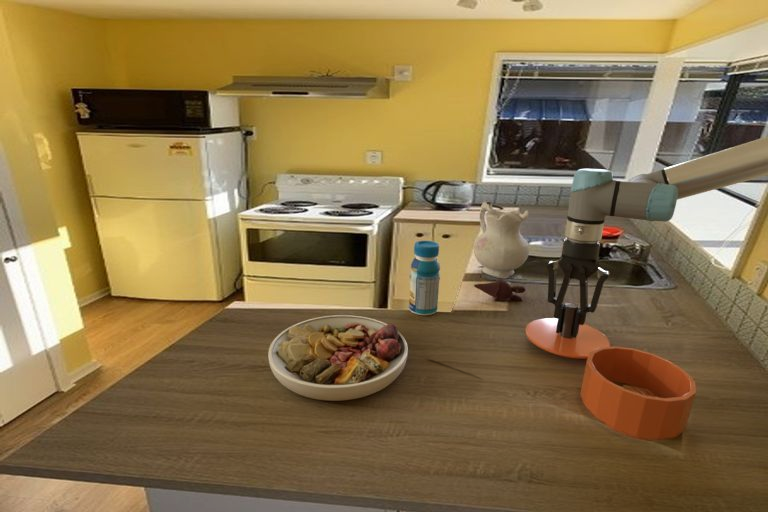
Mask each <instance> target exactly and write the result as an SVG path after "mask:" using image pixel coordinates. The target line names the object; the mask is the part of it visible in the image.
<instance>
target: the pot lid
mask: <svg viewBox="0 0 768 512" xmlns="http://www.w3.org/2000/svg"><path fill="white" fill-rule="evenodd" d="M563 305H564V311H563V318H562V324H561V330H560V333H559V334H558V333H556V329H557V323H558V319H556V318H554V317H545V318H544V317H543V318H538V319H535V320H532V321H530V322H528V324H527V325H526V327H525V336H526V337H527V339H528V340H529V341H530V342H531V343H532V344H533V345H535V346H537V347H538V348H540V349H542V350H544V351H546V352H549V353H550V354H554V355H557V356H560V357H565V358H572V359H582V360H583V359H585V360H587V359H588V356H589V354H590V352H592V351H594V350H596V349H598V348H600V347H611V343H610V340H609V339H608V337H607V336H606V335H605V334H603V332H601V331H599V330H598V329H596V328H594V327H592V326H590V325H588V324H586V323H584V324H583V325H579V330H578V334H577V336H576V338H573V337H572V336H573V330H574V324H575V318H576V312H577V310H578V309H579V305H578V304H577V303H574V302H565V303H564V304H563Z"/></svg>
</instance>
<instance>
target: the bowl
mask: <svg viewBox="0 0 768 512" xmlns="http://www.w3.org/2000/svg"><path fill="white" fill-rule="evenodd" d="M408 347H409V346H408V343H407V341H406V339H405V337H404V336H403V335H402V334H401V332H400V331H399V330H398V327H397V326H396V325H394V324H392V323H386V322H383V321H380V320H378V319H374V318H371V317H367V316H361V315H350V314H349V315H348V314H337V315H335V314H334V315H325V316H319V317H313V318H310V319H306V320H303V321H300V322H298V323H295V324H292V325H291V326H288V327H287V328H286V329H284V330H283V331H281V332H280V333H279V334H278V335H277V336H276V337H275V338H274V339H273V340H272V342H271V343H270V345H269V348H268V354H267V355H268V356H267V357H268V364H269V367H270V370H271V372H272V374H273V375H274V377H275V379H277V381H278V382H279V383H280V384H281V385H282V386H284V387H285V388H286V389H288V390H290V391H291V392H292V393H294V394H297V395H298V396H299V395H300V396H303V397H306V398H309V399H312V400H313V399H314V400H319V401H330V402H335V401H336V402H338V401H339V402H341V401H350V400H356V399H361V398H364V397H367V396H370V395H373V394H376V393H377V392H380V391H382V390H383V389H385V388H387V387H388V386H389V385H391V384H393V382H394V381H395V380H397V378H398V377H399V376H400V375H401V373H402V372H403V370H404V368H405V367H406V363H407V360H408V353H409V349H408Z"/></svg>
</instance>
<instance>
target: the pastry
mask: <svg viewBox="0 0 768 512" xmlns="http://www.w3.org/2000/svg"><path fill="white" fill-rule="evenodd" d="M619 386H620V387H622V388H624V389H626V390H629V391H633V392H636V393H639V394H642V395H645V396H651V397H658V396H657V395H655V394H653V392H651V391H650V390H648V389H643V388H640V387H636V386H633V385H629V384H623V385H622V386H621V385H619Z"/></svg>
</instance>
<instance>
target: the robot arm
mask: <svg viewBox="0 0 768 512" xmlns="http://www.w3.org/2000/svg"><path fill="white" fill-rule="evenodd" d="M767 176H768V135H767V136H763V137H761V138H757V139H755V140H752V141H748V142H745V143H741V144H738V145H735V146H733V147H728V148H726V149H722V150H719V151H715V152H712V153H710V154H706V155H704V156H700V157H698V158H694V159H690V160H687V161H683V162H681V163H678V164H675V165H671V166H668V167H664V168H663V169H660V170H655V171H652V172H649V173H641V174H637V175H635V176H633V177H631V178H630V179H629V180H627V181H625V180H623V181H622V180H616V179H614V177H613V171H611V170H609V169H601V168H579V169H578V170H576V171H575V172H574V175H573V179H572V184H571V188H570V195H569V201H568V210H567V216H566V217H567V218H566V223H565V229H564V236H565V238H563V243H562V249H561V255H560V257H559V258H558V259H557V260H549V261H548V263H546V269H547V271H548V285H547V302H548V303H549V304H553V305H554V312H553V318H556V319H558V323H557V329H556V333H558V334H559V333H560V330H561V324H562V318H563V311H564V305H565V304H563V303H564V300H565V297H566V294H567V291H568V288H569V286H570V283H571V280H573V279H575V280H577V281H578V282H579V307H578V310H577V312H576V318H575V324H574V330H573V336H572V337H573V338H576V336H577V334H578V330H579V325H583V324H586V319H587V314H588V313H592V314H593V313H595V312H596V310H597V307H598V304H599V300H600V298H601V294H602V290H603V287H604V283H605V282H606V281H607V279H608V278H609V276H610V274H611V273H610V271H609V270H604V268H601V267H600V264H599V261H598V260H599V255H600V249H601V243H600V241H601V240H602V237H603V232H604V225H605V218H606V216H608V217H616V218H625V219H631V220H632V219H633V220H640V221H648V222H665V223H667V222H669V221H671V220H672V219H673V217H674V214H675V211H676V206H677V201H678V200H682V199H686V198H688V197H692V196H696V195H699V194H703V193H707V192H712V191H714V190H718V189H721V188H726V187H729V186H733V185H736V184H741V183H744V182H747V181H752V180H755V179H759V178H763V177H767ZM559 267H560V269H561V271H562V273H563V274H564V276H563V279H562V283H561V286H560V289H559V291H558V294H557V293H556V292H557V274H558V273H557V272H558V271H557V270H558V269H559ZM595 273H596V278H597V279H598V280H597V282H596V284H595V288H594V291H593V295H592V298H591V302H590V304H589V295H588V294H589V277H591V276H592V275H594V274H595ZM556 294H557V295H556ZM556 296H557V297H556Z"/></svg>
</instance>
